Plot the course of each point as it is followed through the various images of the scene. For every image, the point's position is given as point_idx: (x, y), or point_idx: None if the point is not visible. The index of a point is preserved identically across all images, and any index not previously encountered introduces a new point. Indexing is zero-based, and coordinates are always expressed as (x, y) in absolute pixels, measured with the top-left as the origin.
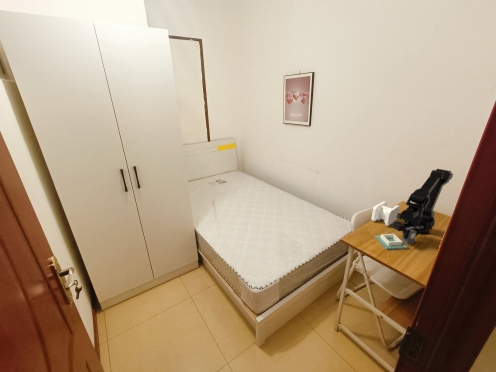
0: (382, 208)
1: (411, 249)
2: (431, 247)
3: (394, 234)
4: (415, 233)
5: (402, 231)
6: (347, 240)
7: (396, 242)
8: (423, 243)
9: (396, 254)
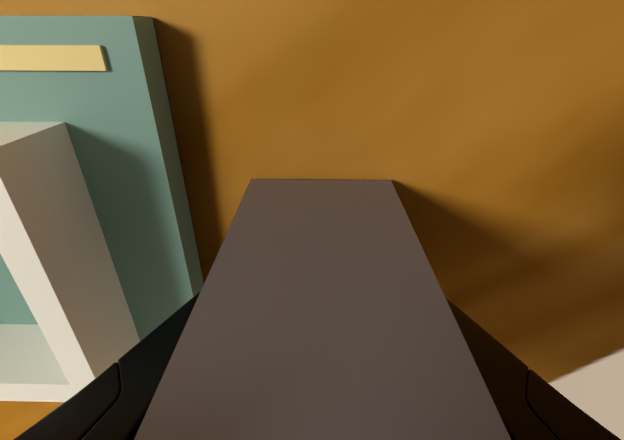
0: None
1: None
2: (545, 367)
3: (2, 183)
4: None
5: (63, 412)
6: None
7: (2, 389)
8: (535, 295)
9: (37, 414)
